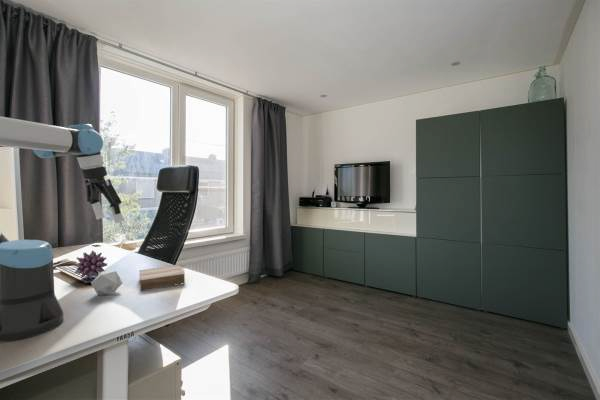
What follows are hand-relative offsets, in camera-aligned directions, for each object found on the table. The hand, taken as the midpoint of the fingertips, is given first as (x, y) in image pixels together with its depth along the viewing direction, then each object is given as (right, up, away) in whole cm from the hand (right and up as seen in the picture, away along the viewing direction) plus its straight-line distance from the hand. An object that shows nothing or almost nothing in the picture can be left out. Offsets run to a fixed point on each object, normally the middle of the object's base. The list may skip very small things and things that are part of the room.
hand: (109, 220), depth 117 cm
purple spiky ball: (-13, -25, +8) cm, 29 cm away
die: (+6, -26, -10) cm, 28 cm away
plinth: (+19, -25, +2) cm, 32 cm away
